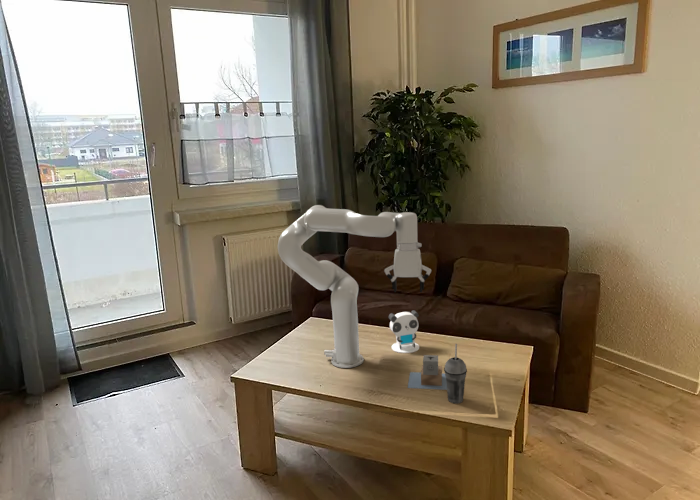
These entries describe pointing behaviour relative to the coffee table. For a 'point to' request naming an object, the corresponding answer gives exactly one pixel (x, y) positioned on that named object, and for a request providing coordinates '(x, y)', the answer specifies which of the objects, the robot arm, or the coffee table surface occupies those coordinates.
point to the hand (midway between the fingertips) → (408, 291)
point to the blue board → (416, 383)
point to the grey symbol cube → (430, 365)
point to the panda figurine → (404, 331)
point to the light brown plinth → (432, 378)
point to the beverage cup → (455, 378)
